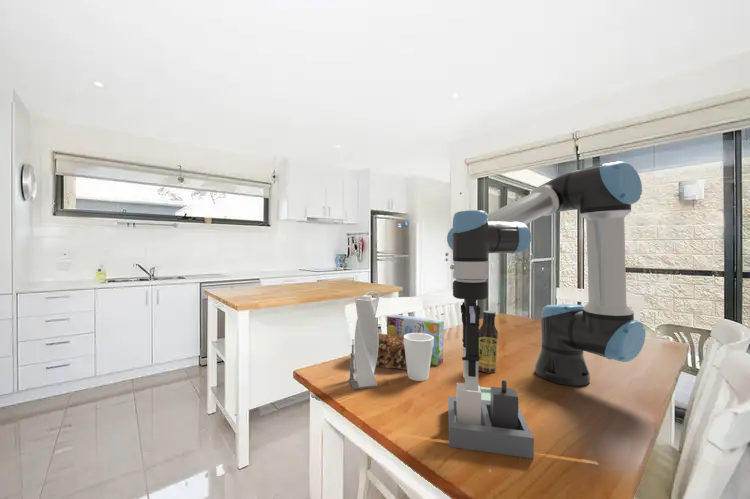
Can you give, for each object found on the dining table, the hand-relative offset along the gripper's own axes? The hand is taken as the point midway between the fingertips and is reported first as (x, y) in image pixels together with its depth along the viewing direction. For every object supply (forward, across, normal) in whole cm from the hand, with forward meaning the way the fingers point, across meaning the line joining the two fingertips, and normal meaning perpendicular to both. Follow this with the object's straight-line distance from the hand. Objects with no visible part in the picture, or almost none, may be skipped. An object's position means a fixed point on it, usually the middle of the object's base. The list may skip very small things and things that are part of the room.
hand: (470, 383), depth 71 cm
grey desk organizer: (+11, 0, +3) cm, 11 cm away
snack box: (+11, -44, -17) cm, 48 cm away
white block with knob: (+10, 0, 0) cm, 10 cm away
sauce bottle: (+11, -38, +8) cm, 40 cm away
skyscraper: (+10, -18, -29) cm, 35 cm away
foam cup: (+11, -26, -14) cm, 31 cm away
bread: (+11, -36, -26) cm, 46 cm away
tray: (+11, -14, +3) cm, 18 cm away
